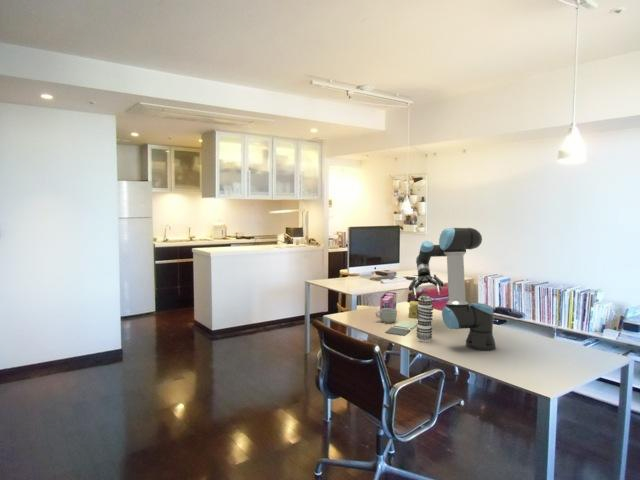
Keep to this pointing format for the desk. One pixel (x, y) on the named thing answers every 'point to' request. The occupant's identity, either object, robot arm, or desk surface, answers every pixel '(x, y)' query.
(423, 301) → the decorative candle
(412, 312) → the cheese
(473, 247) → the robot arm
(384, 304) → the gum box
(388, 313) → the teacup
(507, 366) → the desk surface
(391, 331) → the charcoal mat
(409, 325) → the sage mat
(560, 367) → the desk surface
